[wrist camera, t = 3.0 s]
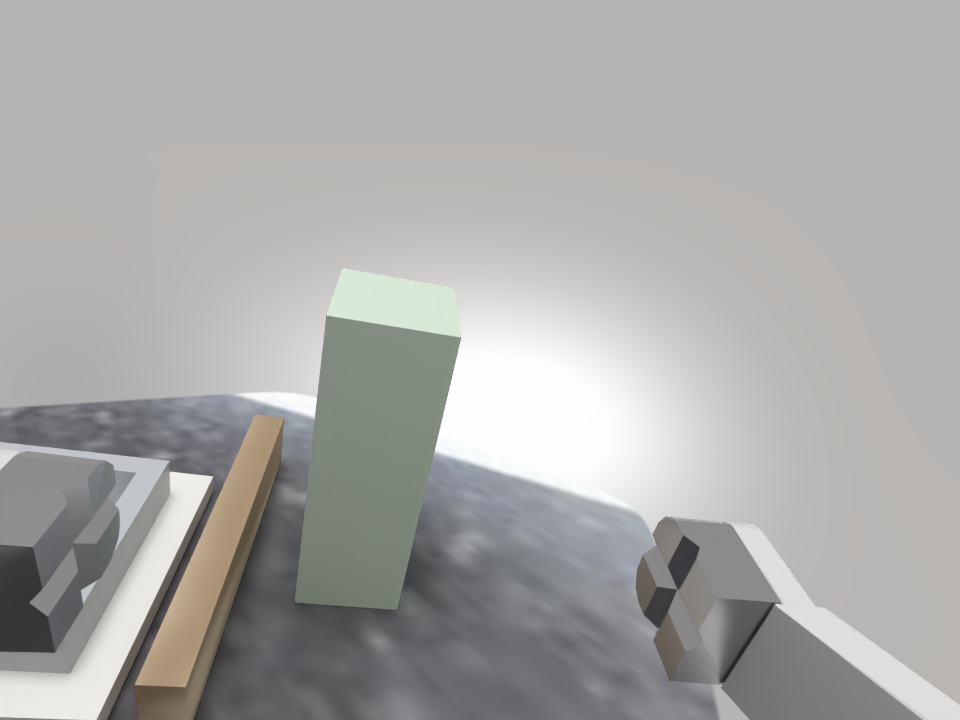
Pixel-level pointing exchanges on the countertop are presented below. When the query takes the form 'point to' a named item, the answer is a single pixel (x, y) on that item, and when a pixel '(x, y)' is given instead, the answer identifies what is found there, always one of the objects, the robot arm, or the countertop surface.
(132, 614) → the grey keeper socket
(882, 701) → the robot arm
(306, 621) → the countertop surface
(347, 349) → the sage bar
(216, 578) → the oak board
